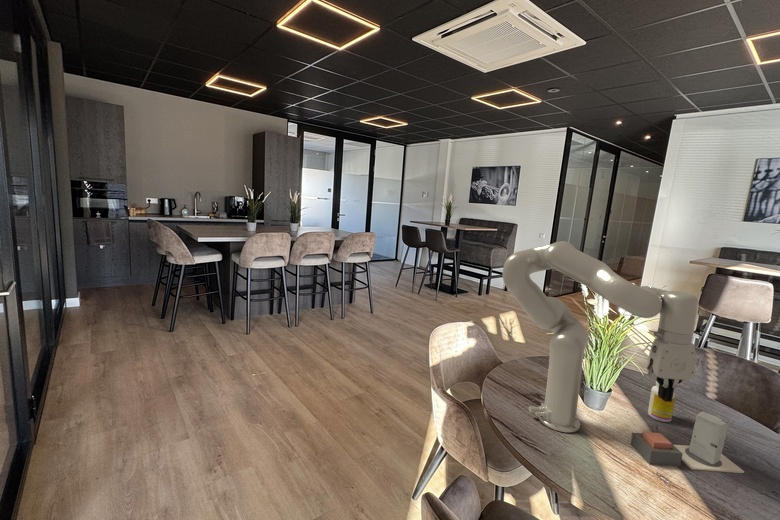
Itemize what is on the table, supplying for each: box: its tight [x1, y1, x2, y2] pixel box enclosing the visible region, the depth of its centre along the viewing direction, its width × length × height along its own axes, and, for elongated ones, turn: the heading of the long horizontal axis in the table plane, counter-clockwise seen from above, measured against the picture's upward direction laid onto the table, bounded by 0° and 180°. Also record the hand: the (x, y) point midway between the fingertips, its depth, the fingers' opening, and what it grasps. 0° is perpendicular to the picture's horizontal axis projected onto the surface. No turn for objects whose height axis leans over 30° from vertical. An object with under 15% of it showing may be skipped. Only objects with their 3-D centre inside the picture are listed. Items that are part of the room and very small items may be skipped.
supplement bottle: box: [647, 380, 676, 423], centre depth 123 cm, size 7×7×13 cm
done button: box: [642, 431, 673, 449], centre depth 103 cm, size 5×5×3 cm
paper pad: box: [673, 444, 745, 474], centre depth 103 cm, size 14×10×1 cm
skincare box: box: [689, 411, 730, 464], centre depth 102 cm, size 6×4×12 cm
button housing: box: [630, 432, 683, 467], centre depth 103 cm, size 8×8×4 cm
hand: (664, 399), depth 101 cm, fingers closed
